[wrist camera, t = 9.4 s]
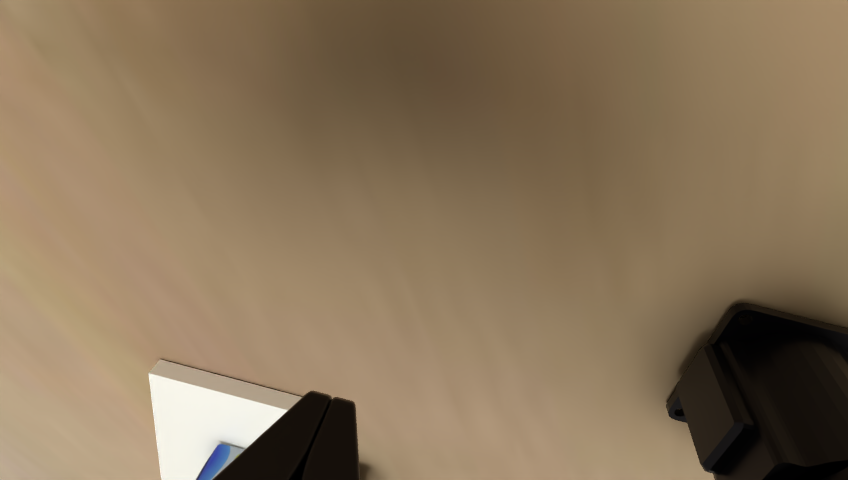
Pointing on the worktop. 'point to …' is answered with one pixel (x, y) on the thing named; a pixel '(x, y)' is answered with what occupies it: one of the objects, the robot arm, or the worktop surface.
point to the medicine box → (218, 461)
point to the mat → (207, 415)
